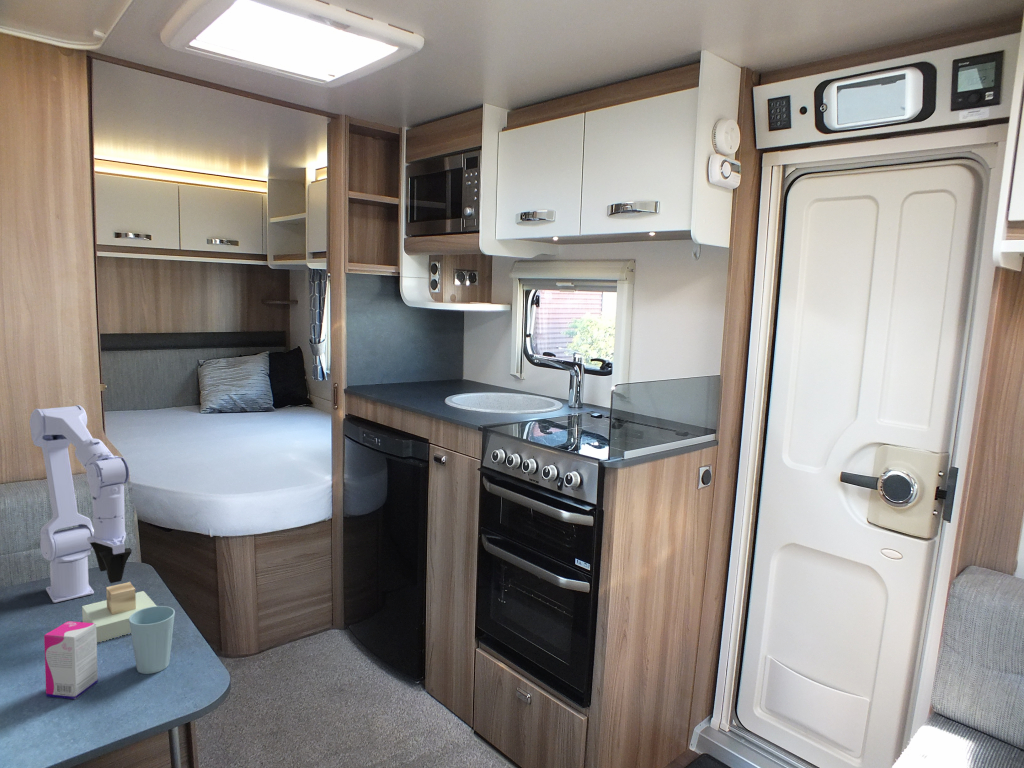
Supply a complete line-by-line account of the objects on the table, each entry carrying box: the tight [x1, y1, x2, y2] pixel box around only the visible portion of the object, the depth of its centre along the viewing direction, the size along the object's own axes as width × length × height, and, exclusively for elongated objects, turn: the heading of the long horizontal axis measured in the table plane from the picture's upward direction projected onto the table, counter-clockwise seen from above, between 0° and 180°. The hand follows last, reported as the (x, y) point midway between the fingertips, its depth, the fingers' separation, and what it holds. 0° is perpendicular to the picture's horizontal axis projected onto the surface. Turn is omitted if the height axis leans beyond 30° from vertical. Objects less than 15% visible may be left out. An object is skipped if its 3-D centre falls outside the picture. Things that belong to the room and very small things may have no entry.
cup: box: [129, 605, 176, 675], centre depth 127 cm, size 8×8×10 cm
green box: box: [81, 590, 157, 643], centre depth 143 cm, size 12×12×4 cm
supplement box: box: [43, 620, 99, 700], centre depth 118 cm, size 6×6×12 cm
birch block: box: [105, 581, 136, 615], centre depth 142 cm, size 4×4×4 cm
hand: (110, 575), depth 143 cm, fingers open, 7 cm apart
